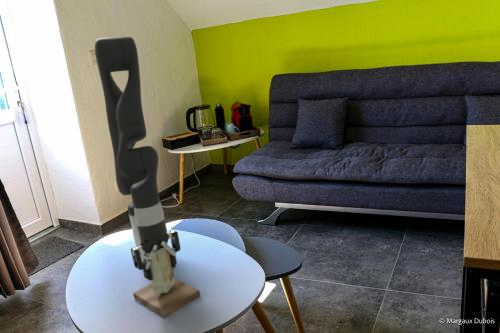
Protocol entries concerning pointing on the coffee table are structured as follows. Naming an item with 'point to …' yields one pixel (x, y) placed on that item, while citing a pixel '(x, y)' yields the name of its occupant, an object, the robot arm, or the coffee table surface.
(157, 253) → the skincare box
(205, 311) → the coffee table surface
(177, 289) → the walnut board
